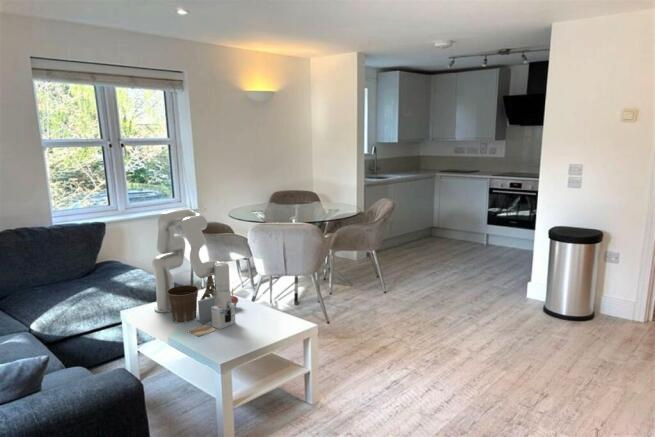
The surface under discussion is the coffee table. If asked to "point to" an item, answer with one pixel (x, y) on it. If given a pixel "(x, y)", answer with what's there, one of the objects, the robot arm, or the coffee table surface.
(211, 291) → the eiffel tower
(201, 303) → the screen
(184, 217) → the robot arm
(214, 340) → the coffee table surface
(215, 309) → the light bulb box
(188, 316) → the plant pot
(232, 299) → the cupcake
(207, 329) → the coaster
